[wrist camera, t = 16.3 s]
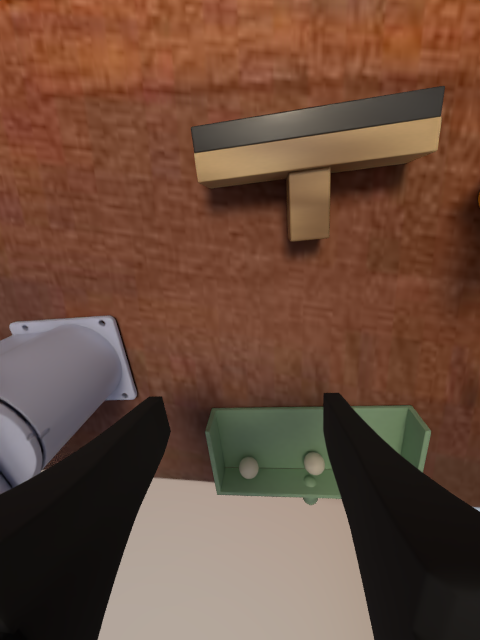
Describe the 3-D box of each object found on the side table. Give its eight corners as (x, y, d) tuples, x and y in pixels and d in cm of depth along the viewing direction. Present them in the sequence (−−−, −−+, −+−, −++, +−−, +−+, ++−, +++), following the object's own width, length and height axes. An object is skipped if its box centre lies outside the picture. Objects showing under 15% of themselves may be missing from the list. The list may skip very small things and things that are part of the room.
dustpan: (211, 407, 23) (204, 431, 21) (411, 405, 21) (431, 431, 19) (224, 482, 27) (220, 511, 24) (398, 487, 25) (413, 518, 22)
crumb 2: (303, 468, 22) (303, 447, 23) (304, 477, 23) (303, 456, 24) (325, 471, 21) (324, 449, 23) (325, 479, 23) (323, 458, 24)
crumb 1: (240, 452, 24) (244, 456, 25) (234, 473, 23) (239, 476, 24) (259, 458, 23) (262, 461, 25) (253, 480, 22) (257, 483, 24)
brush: (203, 142, 16) (216, 245, 18) (189, 125, 13) (207, 250, 15) (412, 109, 14) (399, 227, 17) (447, 83, 12) (426, 229, 14)
